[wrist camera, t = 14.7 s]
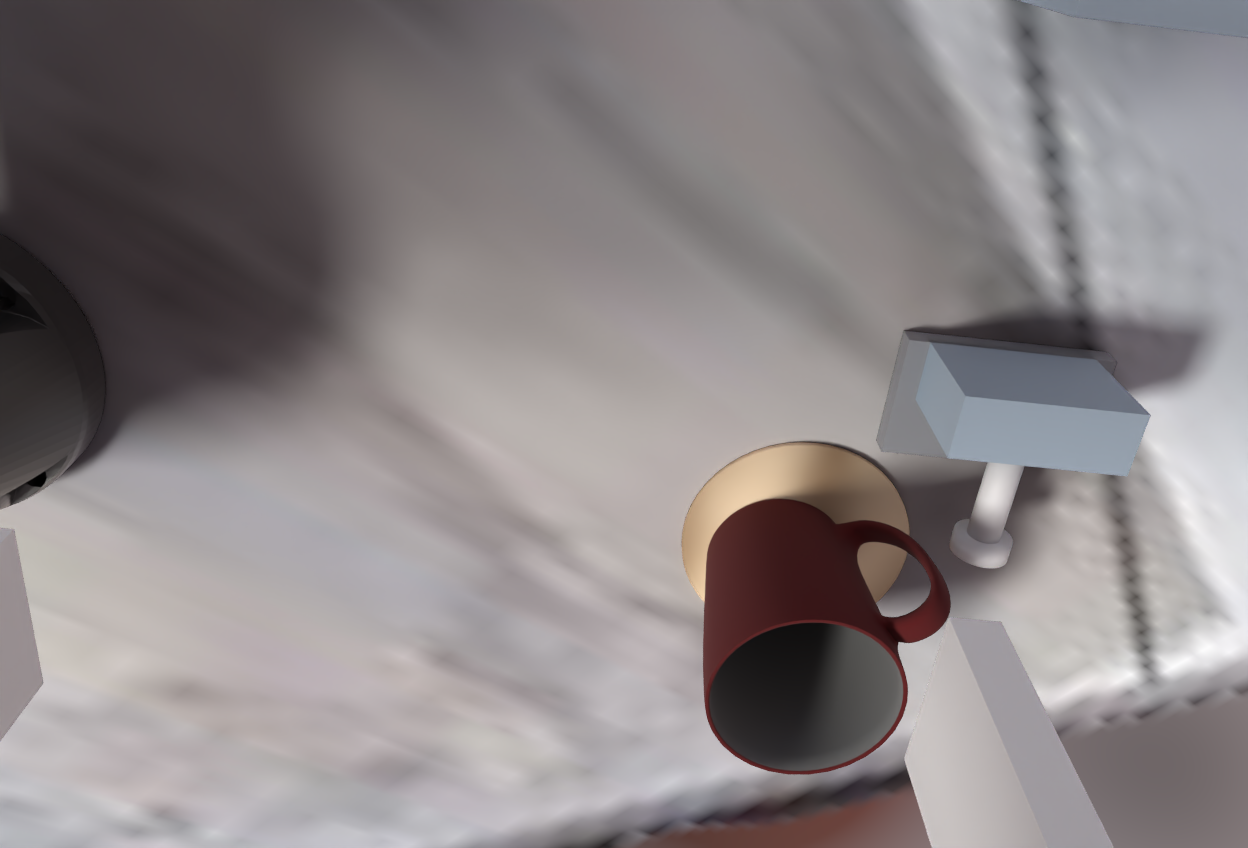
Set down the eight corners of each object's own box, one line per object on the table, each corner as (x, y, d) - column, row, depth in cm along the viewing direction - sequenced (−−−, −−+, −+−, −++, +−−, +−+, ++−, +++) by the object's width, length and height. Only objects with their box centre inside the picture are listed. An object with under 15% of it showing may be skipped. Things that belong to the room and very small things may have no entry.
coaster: (668, 620, 58) (668, 624, 58) (698, 431, 52) (699, 434, 52) (880, 640, 58) (881, 644, 58) (932, 454, 53) (934, 458, 53)
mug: (856, 422, 52) (909, 548, 42) (942, 543, 55) (1009, 686, 45) (659, 541, 55) (665, 682, 45) (751, 648, 58) (774, 802, 49)
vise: (861, 498, 54) (890, 578, 48) (1056, -279, 39) (1136, -310, 32) (1048, 517, 55) (1102, 598, 48) (1315, -244, 39) (1444, -269, 33)
